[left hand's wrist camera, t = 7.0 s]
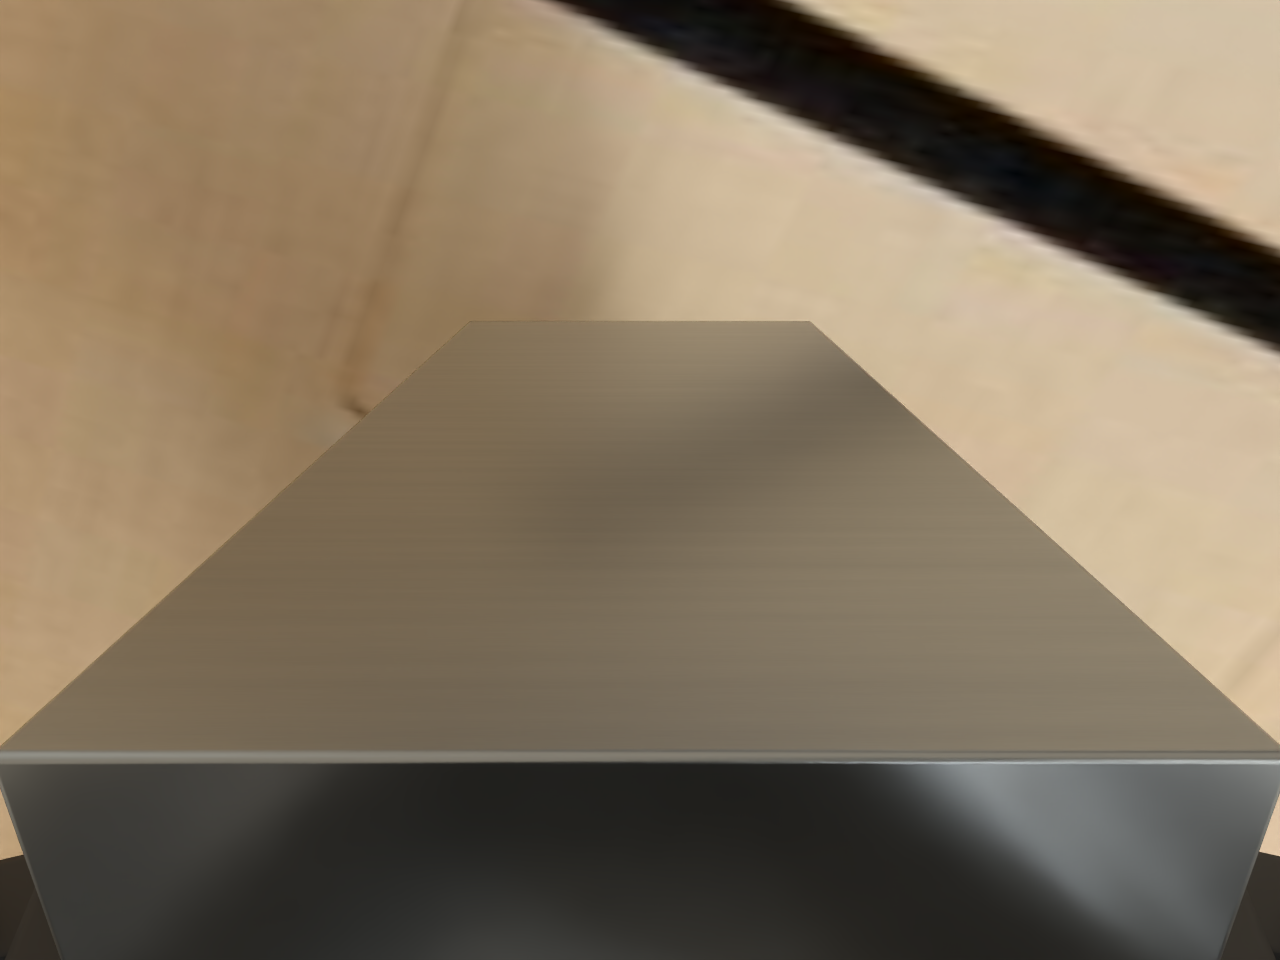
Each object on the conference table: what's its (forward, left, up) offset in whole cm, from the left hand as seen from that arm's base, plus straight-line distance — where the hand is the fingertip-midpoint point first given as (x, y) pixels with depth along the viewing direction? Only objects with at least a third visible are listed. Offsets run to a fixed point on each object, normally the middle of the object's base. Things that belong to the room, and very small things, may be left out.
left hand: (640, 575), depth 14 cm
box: (+4, +6, -3) cm, 8 cm away
